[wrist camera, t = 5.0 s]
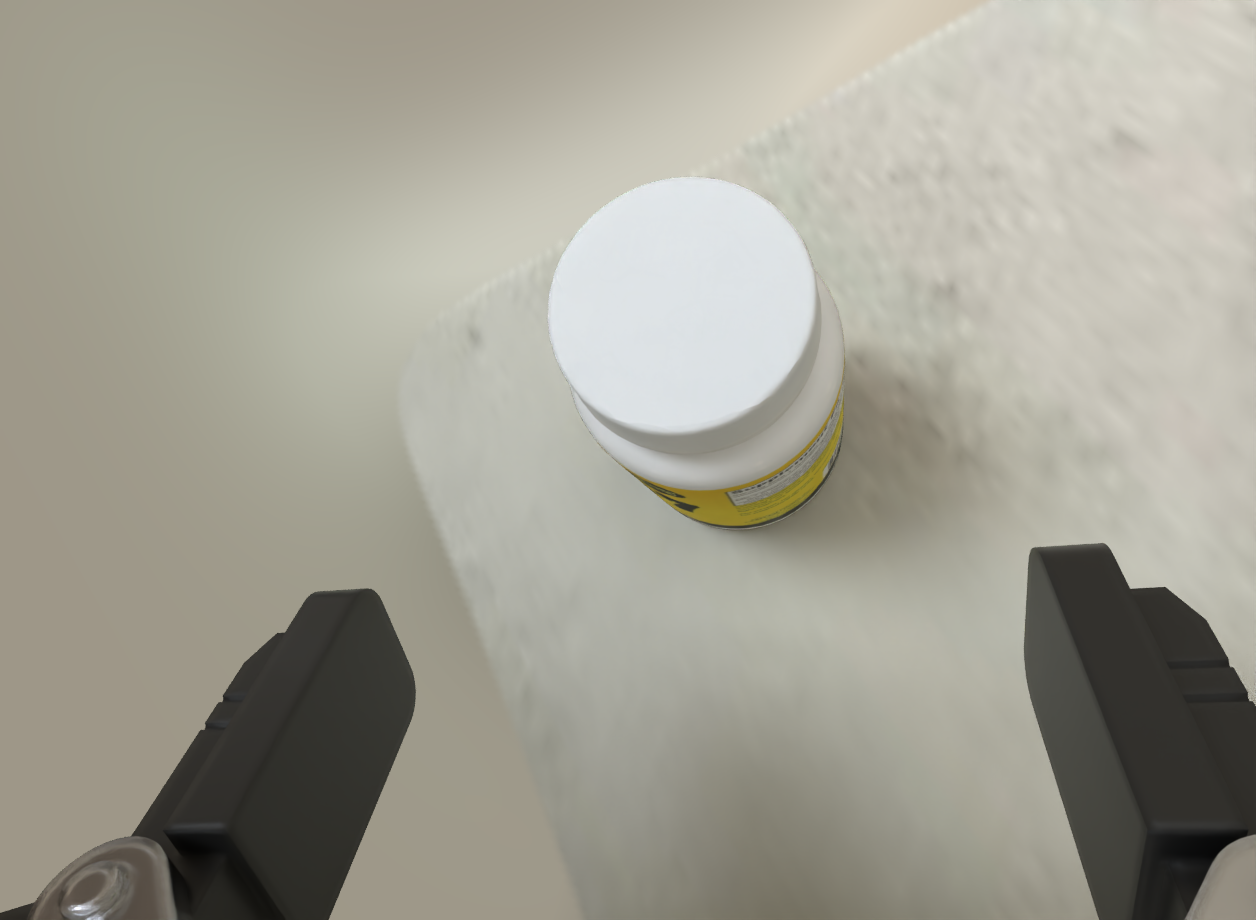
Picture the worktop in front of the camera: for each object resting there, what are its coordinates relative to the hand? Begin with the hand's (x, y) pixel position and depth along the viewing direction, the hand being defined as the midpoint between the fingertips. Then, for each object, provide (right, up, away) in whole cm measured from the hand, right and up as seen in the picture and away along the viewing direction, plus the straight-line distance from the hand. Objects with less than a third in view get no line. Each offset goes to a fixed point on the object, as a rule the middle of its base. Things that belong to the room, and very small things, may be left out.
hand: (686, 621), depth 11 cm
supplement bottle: (+2, +3, +10) cm, 11 cm away
